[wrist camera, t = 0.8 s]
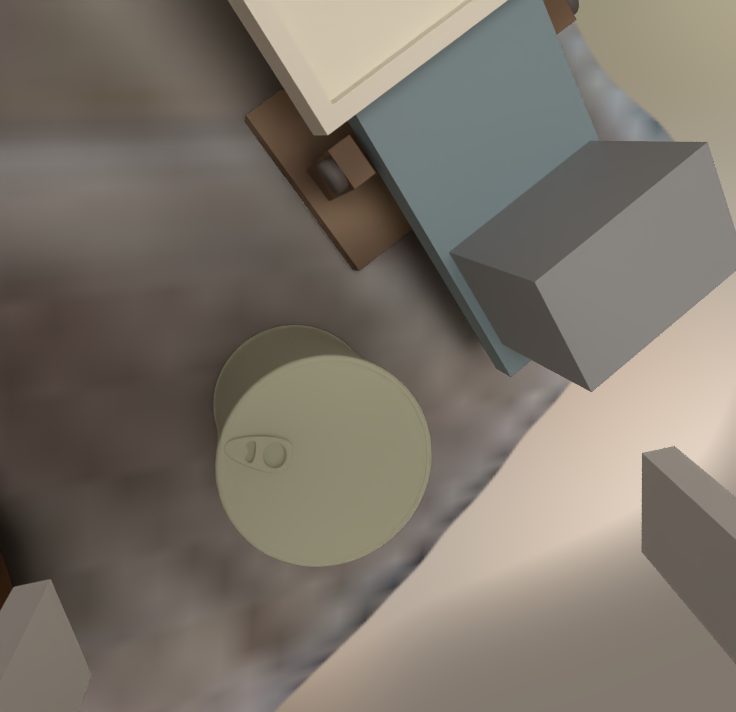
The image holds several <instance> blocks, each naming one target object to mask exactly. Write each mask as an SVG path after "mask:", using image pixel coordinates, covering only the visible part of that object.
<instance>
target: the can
mask: <svg viewBox="0 0 736 712" xmlns="http://www.w3.org/2000/svg"><path fill="white" fill-rule="evenodd" d="M213 411H214V419H215V423H216V427H217V449H216V456H215V477H216V485H217V490H218V493H219V497H220V501H221V503H222V505H223V508H224V510H225V512H226V514H227V516H228V518H229V519H230V521H231V522H232V524H233V525H234V527H235V528H236V529H237V531H238V532H239V533H240V534H241V535H242V536H243V537H244V538H245V539H246V540H247V541H248V542H249V543H251V544H252V545H253V546H254V547H256V548H257V549H259V550H260V551H262V552H263V553H265V554H267V555H269V556H271V557H273V558H275V559H278V560H281V561H284V562H287V563H290V564H295V565H301V566H312V567H321V566H333V565H338V564H343V563H347V562H350V561H353V560H356V559H359V558H361V557H363V556H365V555H368V554H369V553H371V552H373V551H375V550H376V549H378V548H380V547H381V546H383V545H384V544H385V543H387V542H388V541H389V540H390V539H392V538H393V537H394V536H395V535H396V534H397V533H398V532H399V531H400V530H401V529H402V528H403V527H404V526H405V524H406V523H407V522H408V521H409V519H410V518H411V517H412V515H413V514H414V512H415V511H416V509H417V507H418V505H419V503H420V501H421V499H422V497H423V495H424V492H425V489H426V487H427V483H428V480H429V475H430V470H431V461H432V447H431V438H430V433H429V428H428V425H427V422H426V419H425V416H424V414H423V412H422V409H421V407H420V406H419V404H418V402H417V401H416V399H415V398H414V396H413V395H412V393H411V392H410V391H409V390H408V388H407V387H406V386H405V385H404V384H403V383H402V382H401V381H400V380H399V379H397V378H396V377H395V376H394V375H392V374H391V373H390V372H388V371H387V370H385V369H383V368H382V367H380V366H378V365H376V364H374V363H371V362H369V361H366V360H365V359H363V358H362V357H360V356H359V355H357V354H356V353H354V351H353V350H352V349H351V348H350V347H349V346H348V345H347V344H346V343H344V342H343V341H342V340H341V339H339V338H338V337H336V336H334V335H333V334H331V333H329V332H327V331H324V330H322V329H319V328H315V327H311V326H305V325H285V326H279V327H274V328H271V329H268V330H265V331H263V332H260V333H258V334H256V335H255V336H253V337H251V338H250V339H248V340H247V341H245V342H244V343H243V344H242V345H240V346H239V347H238V348H237V349H236V350H235V351H234V352H233V354H232V355H231V356H230V357H229V359H228V360H227V361H226V363H225V365H224V366H223V368H222V370H221V372H220V374H219V377H218V380H217V383H216V386H215V391H214V398H213Z"/></svg>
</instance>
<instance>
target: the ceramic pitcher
mask: <svg viewBox="0 0 736 712" xmlns="http://www.w3.org/2000/svg"><path fill="white" fill-rule="evenodd" d="M12 589H13V588H12V584H11V581H10V577H9V574H8V570H7V568H6V565H5V562H4V559H3V557H2V555H1V553H0V610H1V609H2V607H3V605H4V603H5V601H6V600H7V598H8V596H9V594H10V592H11V591H12Z"/></svg>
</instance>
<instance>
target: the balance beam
mask: <svg viewBox="0 0 736 712" xmlns="http://www.w3.org/2000/svg"><path fill="white" fill-rule="evenodd" d="M228 1H229V3H230V5H231V6H232V8H233V9H234V11H235V12H236V14H237V16H238V17H239V19H240V20H241V22H242V23H243V25H244V27H245V28H246V30H247V31H248V33H249V34H250V36H251V38H252V39H253V41H254V42H255V44H256V45H257V47H258V49H259V50H260V52H261V53H262V55H263V56H264V58H265V60H266V61H267V63H268V64H269V66H270V67H271V69H272V71H273V72H274V74H275V75H276V77H277V78H278V80H279V82H280V83H281V85H282V86H283V88H284V89H285V91H286V93H287V94H288V96H289V97H290V99H291V100H292V102H293V104H294V105H295V107H296V108H297V110H298V112H299V113H300V115H301V116H302V118H303V119H304V121H305V123H306V124H307V126H308V127H309V129H310V130H311V132H312V134H313V135H329V134H330V133H332V132H333V131H334V130H336V129H337V128H338V127H340V126H341V125H342V124H344V123H345V122H346V121H348V123H349V124H350V126H351V128H352V129H353V131H354V133H355V134H356V136H357V138H358V139H359V141H360V143H361V144H362V146H363V148H364V149H365V151H366V153H367V154H368V156H369V158H370V159H371V161H372V163H373V164H374V166H375V168H376V169H377V171H378V173H379V174H380V176H381V178H382V179H383V181H384V183H385V184H386V186H387V187H388V189H389V191H390V192H391V194H392V196H393V197H394V199H395V201H396V202H397V204H398V206H399V207H400V209H401V211H402V212H403V214H404V216H405V217H406V219H407V221H408V222H409V224H410V226H411V227H412V229H413V231H414V232H415V234H416V236H417V237H418V239H419V241H420V242H421V244H422V246H423V247H424V249H425V251H426V252H427V254H428V256H429V257H430V259H431V261H432V262H433V264H434V266H435V267H436V269H437V271H438V272H439V274H440V276H441V277H442V279H443V281H444V282H445V284H446V286H447V287H448V289H449V291H450V292H451V294H452V296H453V297H454V299H455V301H456V302H457V304H458V306H459V307H460V309H461V311H462V312H463V314H464V316H465V317H466V319H467V321H468V322H469V324H470V326H471V327H472V329H473V330H474V332H475V334H476V335H477V337H478V339H479V340H480V342H481V344H482V345H483V347H484V349H485V350H486V352H487V354H488V355H489V357H490V359H491V360H492V362H493V364H494V365H495V367H496V368H497V369H498V370H500V371H502V372H503V373H505V374H507V375H508V376H510V377H512V376H513V375H514V374H516V373H517V372H518V371H519V370H520V369H522V368H523V367H524V366H525V365H526V364H528V363H529V362H530V361H531V360H533V361H535V362H536V363H538V364H540V365H542V366H544V367H546V368H548V369H549V370H551V371H553V372H555V373H557V374H559V375H561V376H563V377H564V378H566V379H568V380H570V381H572V382H574V383H576V384H577V385H580V386H581V387H583V388H585V389H587V390H589V391H590V392H592V391H594V389H596V388H597V387H598V386H599V385H601V384H602V383H603V382H604V381H605V380H607V379H608V378H609V377H610V376H611V375H612V374H614V373H615V372H616V371H617V370H618V369H620V368H621V367H622V366H623V365H624V364H625V363H627V362H628V361H629V360H630V359H631V358H633V357H634V356H635V355H636V354H637V353H638V352H640V351H641V350H642V349H643V348H645V347H646V346H647V345H648V344H649V343H651V342H652V341H653V340H654V339H655V338H656V337H658V336H659V335H660V334H661V333H662V332H664V331H665V330H666V329H667V328H668V327H669V326H671V325H672V324H673V323H674V322H676V321H677V320H678V319H679V318H680V317H681V316H683V315H684V314H685V313H686V312H687V311H689V310H690V309H691V308H692V307H693V306H695V305H696V304H697V303H698V302H699V301H700V300H702V299H703V298H704V297H705V296H706V295H708V294H709V293H710V292H711V291H712V290H714V289H715V288H716V287H717V286H718V285H720V284H721V283H722V282H723V281H724V280H725V279H727V278H728V277H729V276H730V275H731V274H732V273H734V272H735V271H736V231H735V228H734V225H733V222H732V218H731V215H730V212H729V209H728V206H727V203H726V199H725V196H724V193H723V190H722V187H721V184H720V180H719V177H718V174H717V171H716V168H715V165H714V161H713V158H712V155H711V152H710V149H709V146H708V142H646V141H599V138H598V136H597V133H596V131H595V128H594V126H593V123H592V121H591V118H590V116H589V113H588V111H587V109H586V106H585V104H584V101H583V99H582V96H581V94H580V91H579V89H578V86H577V84H576V81H575V79H574V76H573V74H572V71H571V69H570V66H569V64H568V62H567V59H566V57H565V54H564V52H563V49H562V47H561V44H560V42H559V39H558V37H557V34H556V32H555V29H554V27H553V24H552V22H551V19H550V17H549V14H548V12H547V10H546V7H545V5H544V2H543V0H228Z"/></svg>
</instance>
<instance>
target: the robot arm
mask: <svg viewBox="0 0 736 712" xmlns="http://www.w3.org/2000/svg"><path fill="white" fill-rule="evenodd" d="M642 553H643V554H644V555H645V556H646V557H647V559H648V560H649V561H650V562H651V563H652V564H653V566H654V567H655V568H656V569H657V571H658V572H659V573H660V574H661V575H662V577H663V578H664V579H665V580H666V581H667V582H668V584H669V585H670V586H671V587H672V589H673V590H674V591H675V592H676V593H677V594H678V596H679V597H680V598H681V599H682V600H683V602H684V603H685V604H686V605H687V606H688V608H689V609H690V610H691V611H692V612H693V614H695V616H696V617H697V618H698V620H699V621H700V622H701V623H702V624H703V625H704V627H705V628H706V629H707V630H708V632H709V633H710V634H711V635H712V636H713V638H714V639H715V640H716V641H717V642H718V644H719V645H720V646H721V647H722V648H723V649H724V651H725V652H726V653H727V654H728V655H729V657H730V658H731V659H732V660H733V661H734V663H735V664H736V497H735V496H734V495H733V494H731V493H730V492H729V491H728V490H726V489H725V488H724V487H723V486H722V485H720V484H719V483H718V482H717V481H716V480H715V479H713V478H712V477H711V476H710V475H708V474H707V473H706V472H705V471H704V470H702V469H701V468H700V467H699V466H698V465H696V464H695V463H694V462H693V461H692V460H690V459H689V458H688V457H687V456H686V455H684V454H683V453H682V452H681V451H680V450H678V449H677V448H676V447H675V446H674V447H669V448H664V449H660V450H655V451H650V452H645V453H642ZM91 676H92V674H91V672H90V669H89V667H88V665H87V662H86V660H85V658H84V655H83V653H82V651H81V648H80V646H79V644H78V642H77V639H76V637H75V635H74V632H73V630H72V628H71V625H70V623H69V621H68V618H67V616H66V614H65V611H64V609H63V607H62V604H61V602H60V600H59V597H58V595H57V593H56V590H55V588H54V586H53V584H52V581H51V579H48V580H44V581H39V582H34V583H30V584H25V585H20V586H16V587H13V589H12V591H11V592H10V594H9V596H8V598H7V600H6V601H5V603H4V605H3V607H2V609H1V610H0V712H80V709H81V706H82V703H83V700H84V697H85V694H86V691H87V688H88V685H89V682H90V679H91Z"/></svg>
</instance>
